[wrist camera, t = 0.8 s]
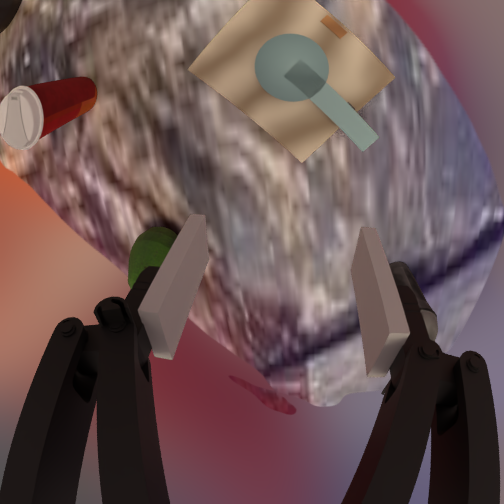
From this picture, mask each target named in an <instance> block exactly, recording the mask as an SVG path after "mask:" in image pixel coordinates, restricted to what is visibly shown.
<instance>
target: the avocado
mask: <svg viewBox="0 0 504 504" xmlns="http://www.w3.org/2000/svg"><path fill="white" fill-rule="evenodd" d="M176 238H177V234H176V233H174V232H173V231H172V230H170V229H168V228H165V227H152V228H150V229H149V230H147V231H145V232H144V233H142V234H141V235H140V236H139V237H138V238H137V240H136V241H135V243H134V245H133V247H132V250H131V253H130V258H129V270H128V284H129V286H130V288H131V289H132V286H133V285H134V283H136V280H137V278H138V276H139V274H140V273H141V272H142V271H143V270H144V269H146V268H147V267H148V266H156V267H161V265H162V263H163V261H164V260H165V258H166V256H167V254H168V252H169V251H170V249H171V247H172V245H173V244H174V242H175V240H176Z"/></svg>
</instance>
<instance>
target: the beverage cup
mask: <svg viewBox="0 0 504 504" xmlns="http://www.w3.org/2000/svg"><path fill="white" fill-rule="evenodd" d="M389 266H390V269H391V272H392V275H393V278H394V281H395V284H396V285H402V286H408V287H409V288H410V289H411V290H412V291H413V292H414V294H415V296H416V298H417V301H418V305H419V307H420V310H421V313H422V316H423V319H424V322H425V325H426V328H427V331H428V334H429V338H430V339H431V340H433V341H435V339H436V336H437V332H438V325H437V315H436V314H435V312H434V311H433V310H432V308H431V307H430V306H429V304H428V303H427V301H426V299H425V297H424V295H423V293H422V291H421V289H420V287H419V286H418V284H417V282H416V280H415V278H414V276H413V274H412V273H411V271H410V270H409V268H408V266H407V265H406V264H405V263H403V262H394V263H391V264H390V265H389Z"/></svg>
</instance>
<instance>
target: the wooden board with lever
mask: <svg viewBox="0 0 504 504" xmlns="http://www.w3.org/2000/svg"><path fill="white" fill-rule="evenodd" d="M282 34H299V35H303V36H305V37H308V38H310V39H311V40H313V41H314V42H316V43H317V44H318V45H319V46H320V47H321V48H322V50H323V51H324V53H325V55H326V57H327V60H328V64H329V74H328V78H327V81H326V83H328V84H329V85H330V86H331V87H332V88H333V89H334V90H335V91H336V92H337V93H338V94H339V95H340V96H341V97H342V98H343V99H344V100H345V101H346V102H347V103H348V104H349V105H350V106H351V107H352V108H353V109H354V110H355V111H356V112H357V111H359V110H360V109H361V108H362V107H363V106H364V105H365V104H366V103H367V102H368V101H370V100H371V99H372V98H373V97H374V96H375V95H376V94H377V93H379V92H380V91H381V90H382V89H383V88H384V87H385V86H386V85H387V84H389V83H390V82H391V81H392V80H393V79H394V78H395V77H394V76H393V74H392V73H391V72H390V71H389V70H388V69H387V68H386V67H385V66H384V64H383V63H382V62H381V61H380V60H379V59H378V58H377V57H376V56H375V55H374V54H373V53H372V52H371V51H370V50H369V49H368V48H367V47H366V46H365V45H364V44H363V43H362V42H361V41H360V40H359V39H358V38H357V37H356V36H355V35H354V34H353V33H352V32H351V31H350V30H349V29H347V28H346V27H345V26H344V25H343V24H342V23H341V22H340V21H339V20H337V19H336V18H335V17H334V16H333V15H332V14H330V13H329V12H328V11H327V10H326V9H325V8H323V7H322V6H321V5H320V4H318V3H317V2H316V1H315V0H249V1H248V2H247V3H246V4H245V5H244V6H243V7H242V8H241V9H240V10H239V11H238V12H237V13H236V14H235V15H234V16H233V17H232V18H231V19H230V20H229V22H228V23H227V24H226V25H225V26H224V27H223V28H222V29H221V30H220V31H219V33H218V34H217V35H216V36H215V37H214V38H213V39H212V41H211V42H210V43H209V44H208V45H207V46H206V48H205V49H204V50H203V51H202V52H201V54H200V55H199V56H198V57H197V59H196V60H195V61H194V62H193V64H192V65H191V66H190V67H189V69H188V70H189V71H190V72H191V73H193V74H194V75H196V76H197V77H198V78H200V79H201V80H202V81H204V82H205V83H206V84H208V85H209V86H210V87H212V88H213V89H214V90H216V91H217V92H218V93H219V94H221V95H222V96H223V97H225V98H226V99H227V100H228V101H230V102H231V103H232V104H233V105H235V106H236V107H237V108H238V109H240V110H241V111H242V112H243V113H245V114H246V115H247V116H248V117H250V118H251V119H252V120H253V121H254V122H256V123H257V124H258V125H259V126H260V127H262V128H263V129H264V130H265V131H266V132H267V133H269V134H270V135H271V136H272V137H273V138H274V139H276V140H277V141H278V142H279V143H280V144H281V145H282V146H284V147H285V148H286V149H287V150H288V151H289V152H290V153H291V154H293V155H294V156H295V157H296V158H297V159H298V160H299V161H300V162H301V163H303V162H304V161H305V160H306V159H307V158H308V157H309V156H310V155H311V154H312V153H313V152H314V151H315V150H316V149H317V148H318V147H320V146H321V145H322V144H323V143H324V142H325V141H326V140H327V139H328V138H329V137H330V136H331V135H332V134H334V133H335V132H336V131H337V130H338V129H339V127H338V126H337V125H336V124H335V123H334V122H333V121H332V120H331V119H330V118H329V117H328V116H327V115H326V114H325V113H324V112H323V111H322V110H321V109H320V108H319V107H318V106H317V105H316V104H314V103H313V102H312V101H311V100H310V99H306V100H303V101H297V102H289V101H284V100H280V99H278V98H275V97H273V96H272V95H270V94H269V93H267V92H266V91H265V90H264V89H263V87H262V86H261V85H260V83H259V82H258V79H257V77H256V74H255V59H256V56H257V53H258V51H259V50H260V48H261V47H262V46H263V45H264V44H265V43H266V42H267V41H268V40H270V39H271V38H273V37H275V36H278V35H282Z"/></svg>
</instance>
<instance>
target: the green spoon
mask: <svg viewBox="0 0 504 504" xmlns="http://www.w3.org/2000/svg"><path fill="white" fill-rule="evenodd" d="M255 74H256V77H257V79H258V82H259V83H260V85H261V86H262V87H263V89H264V90H265V91H266V92H267V93H269V94H270V95H272V96H273V97H275V98H278V99H280V100H284V101H289V102H297V101H303V100H306V99H310V100H311V101H312V102H313V103H314V104H316V105H317V106H318V107H319V108H320V109H321V110H322V111H323V112H324V113H325V114H326V115H327V116H328V117H329V118H330V119H331V120H332V121H333V122H334V123H335V124H336V125H337V126H338V127H339V128H340V129H341V130H342V131H343V132H344V133H345V134H346V135H347V136H348V137H349V138H350V139H351V140H352V141H353V142H354V143H355V144H356V145H357V146H358V147H359V148H360V150H361V151H362V152H363V151H364V150H366V149H367V148H368V147H369V146H370V145H371V144H372V143H373V142H375V141H376V140H377V139H378V138H379V136H378V135H377V134H376V133H375V132H374V131H373V130H372V128H371V127H370V126H369V125H368V124H367V123H366V122H365V121H364V120H363V119H362V118H361V117H360V115H359V114H358V113H357V112H356V111H355V110H354V109H353V108H352V107H351V106H350V105H349V104H348V103H347V102H346V101H345V100H344V99H343V98H342V97H341V96H340V95H339V94H338V93H337V92H336V91H335V90H334V89H333V88H332V87H331V86H330V85H329V84H328V83H326V81H327V78H328V74H329V64H328V60H327V57H326V55H325V53H324V51H323V50H322V48H321V47H320V46H319V45H318V44H317V43H316V42H314V41H313V40H311V39H310V38H308V37H305V36H303V35H299V34H282V35H278V36H275V37H273V38H271V39H270V40H268V41H267V42H266V43H265V44H264V45H263V46H262V47H261V48H260V50H259V51H258V53H257V56H256V59H255Z"/></svg>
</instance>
